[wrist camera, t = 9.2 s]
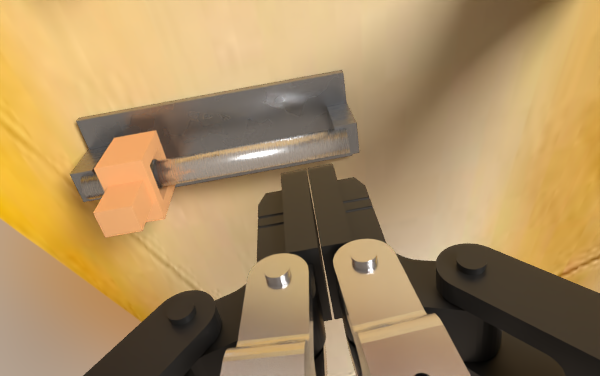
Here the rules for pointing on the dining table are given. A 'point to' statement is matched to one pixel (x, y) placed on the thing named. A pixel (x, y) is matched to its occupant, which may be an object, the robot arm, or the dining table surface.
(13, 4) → the dining table surface
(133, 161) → the collar
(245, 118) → the pipe stand
